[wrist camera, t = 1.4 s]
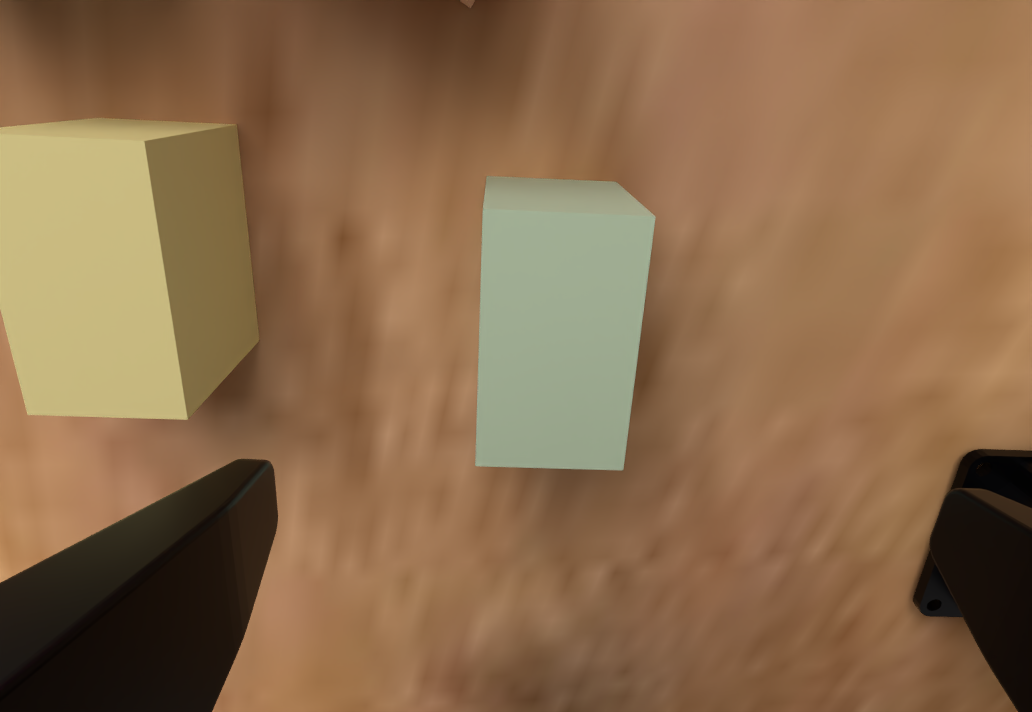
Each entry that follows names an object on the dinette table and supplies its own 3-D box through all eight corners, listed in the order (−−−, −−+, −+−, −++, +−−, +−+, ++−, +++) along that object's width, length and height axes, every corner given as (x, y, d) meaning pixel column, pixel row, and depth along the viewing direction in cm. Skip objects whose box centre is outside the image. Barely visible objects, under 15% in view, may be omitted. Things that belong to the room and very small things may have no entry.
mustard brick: (260, 339, 20) (187, 419, 15) (138, 335, 20) (27, 414, 15) (237, 124, 17) (144, 141, 13) (99, 117, 17) (-46, 131, 13)
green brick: (595, 382, 20) (623, 470, 16) (480, 378, 20) (475, 466, 16) (615, 181, 18) (655, 216, 14) (487, 175, 18) (483, 208, 13)
